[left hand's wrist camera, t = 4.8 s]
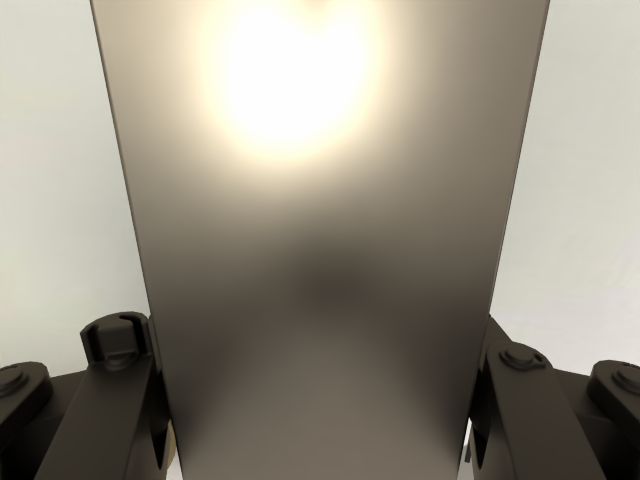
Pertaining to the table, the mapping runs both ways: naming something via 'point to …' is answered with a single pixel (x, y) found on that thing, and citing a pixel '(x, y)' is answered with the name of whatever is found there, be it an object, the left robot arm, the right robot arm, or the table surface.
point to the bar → (319, 219)
